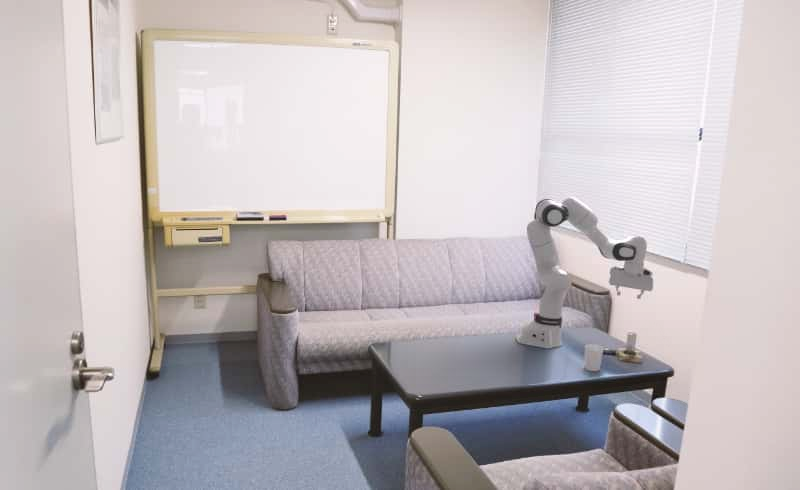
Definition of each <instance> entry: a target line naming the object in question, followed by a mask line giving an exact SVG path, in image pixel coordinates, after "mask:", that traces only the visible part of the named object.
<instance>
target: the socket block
mask: <svg viewBox="0 0 800 490" xmlns="http://www.w3.org/2000/svg"><path fill="white" fill-rule="evenodd" d="M625 351H626V348H620V347H617V350H616V355H617V358H618V360H619V361H625V362H632V363H637V364H638V363H639V364H642V363H643V356H642V353H641V351H640V350H636V349H635V352H634V355H628V354H625Z"/></svg>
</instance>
